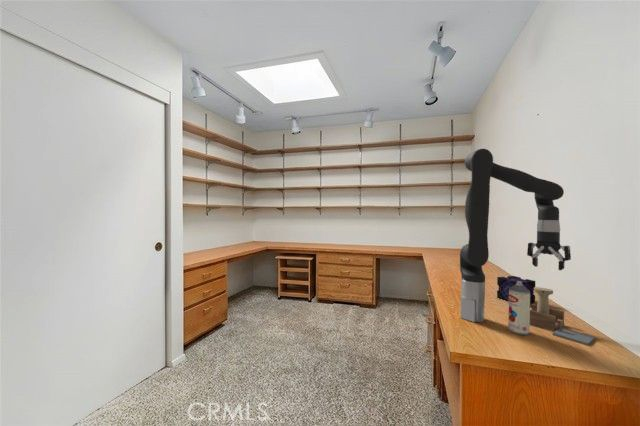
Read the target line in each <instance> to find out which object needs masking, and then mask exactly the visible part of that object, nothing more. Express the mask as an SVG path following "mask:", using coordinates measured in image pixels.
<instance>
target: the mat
mask: <svg viewBox="0 0 640 426" xmlns="http://www.w3.org/2000/svg"><path fill="white" fill-rule="evenodd" d="M552 336H555V337H559V338H561V339H564V340H568V341H571V342H573V343H574V342H575V343H578V344H582V345H584V346H590V345H591V344H592V343H593V342H594V340H595V339H596V336H595V335H591V334H587V333H584V332H579V331H576V330H573V329H569V328H565V327H563V326H562V327H560V328H559V329H557V330H556V331H555V332H553V331H552Z"/></svg>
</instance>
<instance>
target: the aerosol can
mask: <svg viewBox="0 0 640 426" xmlns="http://www.w3.org/2000/svg"><path fill="white" fill-rule="evenodd" d="M530 310H531V304H530V291H529V290H527V288H526V287H524V286H523V285H522V282H520V281H517V284H515V285H513V286H512V287H510V289H509V301H508V321H507V322H508V324H507V327H508V331H509V332H511V333H512V332H513V334H515V335H518V334H519V335H520V336H529V335H530V327H531V325H530ZM519 335H518V336H519Z"/></svg>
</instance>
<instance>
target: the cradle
mask: <svg viewBox="0 0 640 426" xmlns="http://www.w3.org/2000/svg"><path fill="white" fill-rule="evenodd" d="M537 305H538V304H537V303H535V304H531V309H530V326H533V327H535V328H540V329H543V330H547V331H551V332H552V333H553V332H555V331H556V330H557V329H559V328H560V327H563V326H565V311H564V310H561V309H556V308H552V307H549V314H545V313H541V312H537Z"/></svg>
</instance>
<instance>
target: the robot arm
mask: <svg viewBox="0 0 640 426" xmlns="http://www.w3.org/2000/svg"><path fill="white" fill-rule="evenodd" d="M464 166H465V168H466V170H468V171H470V172H471V180H470V181H471V182H470V186H469V188H468V191H467V195H466V198H465V203H464V216H465V217H464V219H465V222H466V227H467V230H468V243H467V244H465V245H463V246H462V247H461V249H460V252H459V269H460V270H459V271H460V275H461V285H460V286H461V287H460V288H461V289H460V290H461V291H460V292H461V294H460V296H461V297H460V315H459V316H460V318H461V319H462V320H463V319H464V320H466V321H469V322H472V323H483V322H484V321H485V318H486V317H485V313H486V312H485V311H486V310H485V307H486V305H485V304H486V302H485V301H486V275H485V273H484V270H483V266H484V265H485V264H487V263H488V260H489V257H490V256H489V255H490V254H489V253H490V251H489V241H488V240H489V239H488V238H489V237H488V230H489V215H490V196H491V195H490V193H491V192H490V191H491V190H490V189H491V185H490V184H491V178H492V179H496V180H499V181H501V182H503V183H506V184H508V185H510V186H512V187H515V188H517V189H519V190H522V191H524V192H526V193H532V194H534V200H535V205H536V208H537V224H536V243H534V242H532V241H531V242H528V243H527V251H526V253H527V254H526V255H527V256H528V257H530V258H532V262H531V264H532V266H533V267H538V266H539V262H538V261H539V258H538V257H539V256H540V255H542V254H543V255H550V256H551V255H554V256H555V257H556V258H557V259H558V271H563V270H564V269H565V264H566V263H565V262H567V261H570V260H572V258H571V257H572V255H571V246H570V245H561V238H560V237H561V235H560V234H561V223H560V208H559V207H557V206H556V205H554V204H555V203H554V201H556V200H559V199H561V198H562V197H563V196H564V193H565V192H564V188H563V187H562V186H561V185H560V184H559V183H557V182H553V181H550V180H546V179H542V178H538V177H536V176H534V175H532V174H530V173H527V172H525V171H522V170H519V169H516V168H512V167H507V166H504V165H500V164H498V163H496V162H494V156H493V154H492V152H491V151H490V150H489V149H487V148H480V149H477V150H475V151H473V152H471V153H469V154H468V155H467V156H466V157H465V159H464ZM535 247H536V249H537V250H536V251H535V252H534V249H535ZM560 250H562V251H563V252H564V256H563V255H562V253H561V252H560Z"/></svg>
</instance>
